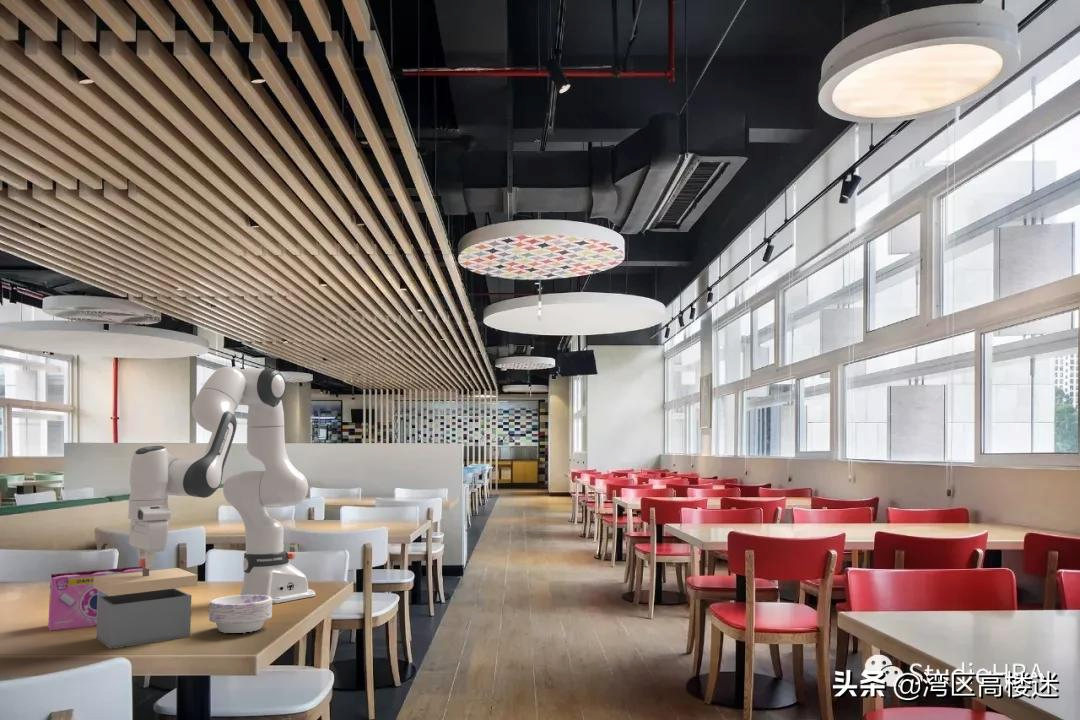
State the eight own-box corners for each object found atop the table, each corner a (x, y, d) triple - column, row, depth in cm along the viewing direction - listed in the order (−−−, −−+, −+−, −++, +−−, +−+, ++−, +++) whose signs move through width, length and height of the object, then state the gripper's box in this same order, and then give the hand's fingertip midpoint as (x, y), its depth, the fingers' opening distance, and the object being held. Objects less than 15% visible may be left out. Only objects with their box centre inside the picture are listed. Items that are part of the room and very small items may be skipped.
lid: (177, 577, 215) (178, 551, 215) (197, 585, 203) (198, 557, 203) (93, 587, 202) (94, 559, 202) (108, 596, 190) (110, 566, 190)
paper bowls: (275, 622, 217) (276, 591, 217) (266, 635, 202) (267, 603, 202) (215, 625, 214) (216, 594, 215) (202, 639, 199) (203, 605, 200)
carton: (173, 626, 212) (174, 587, 213) (190, 636, 202) (191, 595, 202) (96, 638, 201) (98, 596, 202) (110, 649, 190) (112, 605, 191)
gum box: (146, 614, 228) (148, 565, 230) (150, 619, 222) (152, 569, 223) (47, 625, 215) (50, 573, 217) (48, 631, 209) (51, 577, 210)
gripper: (123, 509, 210) (121, 563, 209) (145, 514, 194) (143, 573, 193) (149, 507, 214) (148, 561, 213) (173, 512, 198) (171, 570, 197)
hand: (146, 567), depth 203 cm, fingers closed on lid, 3 cm apart
